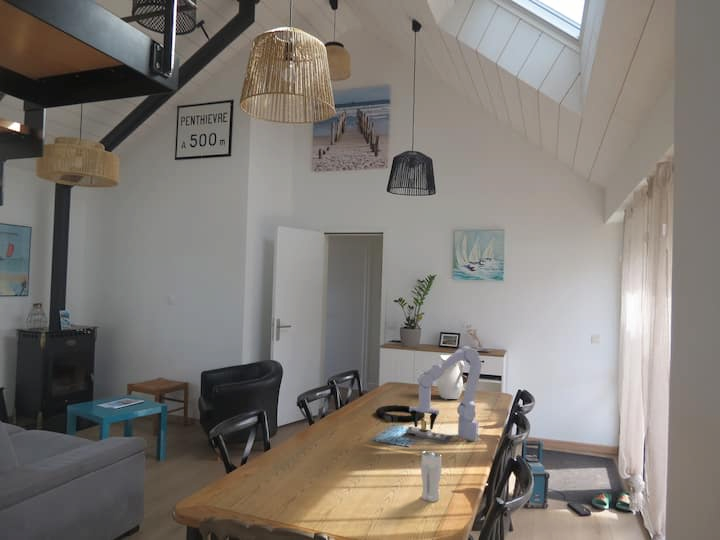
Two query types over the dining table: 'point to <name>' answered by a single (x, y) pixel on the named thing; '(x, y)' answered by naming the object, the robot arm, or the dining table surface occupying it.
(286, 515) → the dining table surface
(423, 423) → the brass pin
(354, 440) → the dining table surface
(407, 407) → the cable lock
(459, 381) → the pitcher
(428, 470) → the beer glass
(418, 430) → the grey metal plate
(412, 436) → the dark grey backing panel
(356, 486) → the dining table surface
